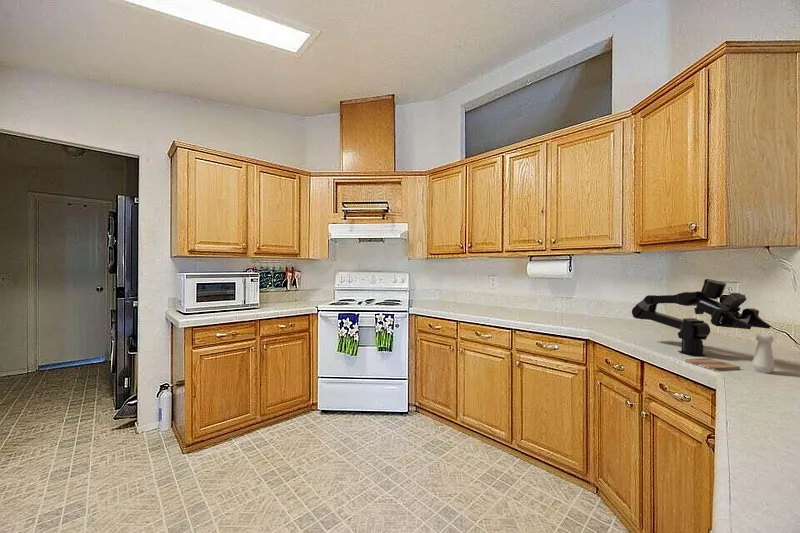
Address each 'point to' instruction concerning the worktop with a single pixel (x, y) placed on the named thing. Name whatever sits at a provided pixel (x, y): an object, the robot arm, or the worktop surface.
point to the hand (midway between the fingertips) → (760, 327)
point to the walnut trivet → (713, 364)
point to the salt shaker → (763, 354)
